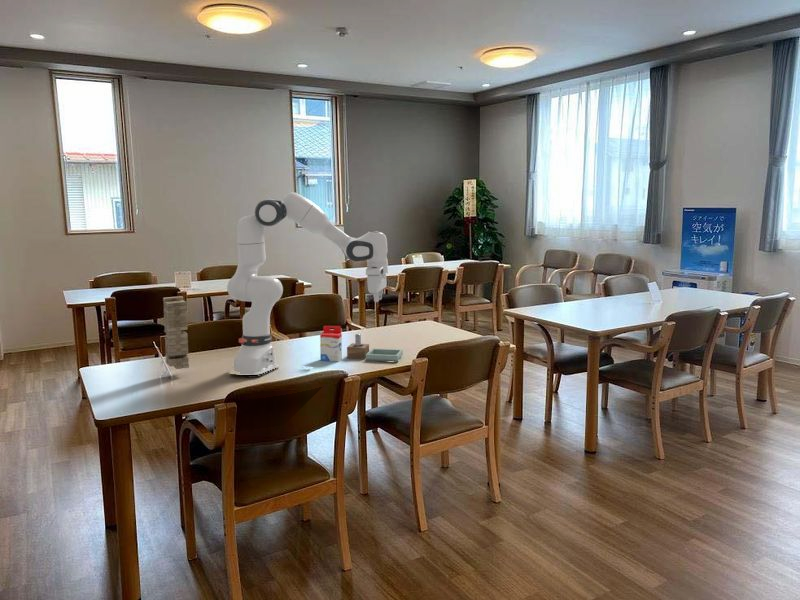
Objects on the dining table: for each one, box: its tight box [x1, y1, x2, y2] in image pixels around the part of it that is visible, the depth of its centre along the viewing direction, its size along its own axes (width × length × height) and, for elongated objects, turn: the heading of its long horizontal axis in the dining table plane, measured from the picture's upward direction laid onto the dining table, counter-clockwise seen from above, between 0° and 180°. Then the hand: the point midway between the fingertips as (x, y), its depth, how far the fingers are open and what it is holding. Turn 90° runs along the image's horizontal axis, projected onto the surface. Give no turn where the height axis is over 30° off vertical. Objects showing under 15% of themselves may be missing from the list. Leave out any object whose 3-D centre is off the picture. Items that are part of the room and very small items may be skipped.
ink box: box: [319, 325, 343, 362], centre depth 263 cm, size 8×5×15 cm, turn 79°
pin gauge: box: [354, 333, 362, 347], centre depth 269 cm, size 2×2×10 cm
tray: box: [365, 348, 404, 363], centre depth 265 cm, size 12×14×3 cm
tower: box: [162, 295, 190, 370], centre depth 250 cm, size 8×8×29 cm
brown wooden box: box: [346, 343, 370, 360], centre depth 269 cm, size 8×8×5 cm
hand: (378, 300), depth 261 cm, fingers open, 4 cm apart
